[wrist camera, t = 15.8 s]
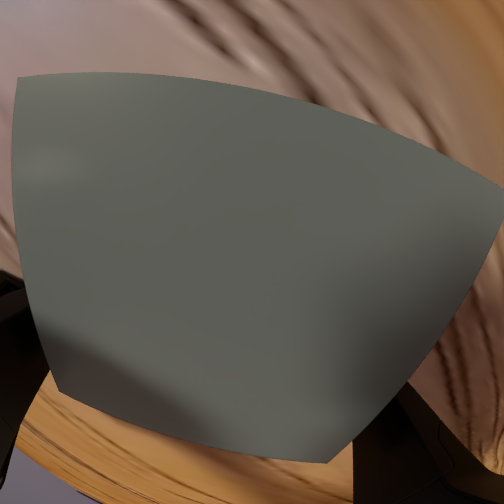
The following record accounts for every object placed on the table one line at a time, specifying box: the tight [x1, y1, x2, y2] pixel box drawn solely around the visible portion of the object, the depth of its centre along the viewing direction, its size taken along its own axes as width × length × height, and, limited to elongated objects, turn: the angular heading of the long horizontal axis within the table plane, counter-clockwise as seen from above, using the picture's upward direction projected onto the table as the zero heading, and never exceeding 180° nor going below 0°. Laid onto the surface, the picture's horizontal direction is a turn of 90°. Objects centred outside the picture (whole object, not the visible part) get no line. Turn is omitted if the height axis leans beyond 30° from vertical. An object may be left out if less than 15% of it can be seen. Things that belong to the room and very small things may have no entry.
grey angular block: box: [11, 72, 504, 463], centre depth 8 cm, size 8×8×7 cm
